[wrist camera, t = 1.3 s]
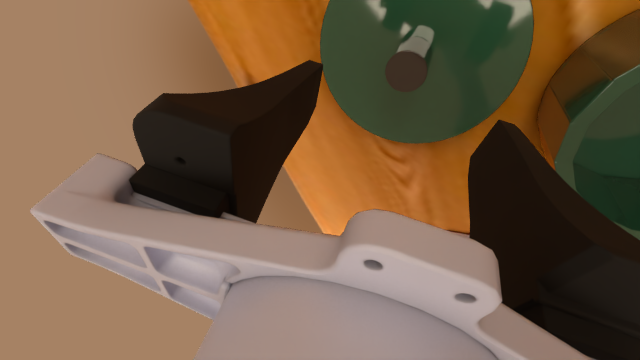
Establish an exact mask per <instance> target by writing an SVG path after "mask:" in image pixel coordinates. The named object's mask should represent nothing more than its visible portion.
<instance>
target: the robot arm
mask: <svg viewBox="0 0 640 360" xmlns="http://www.w3.org/2000/svg"><path fill="white" fill-rule="evenodd" d="M323 65H324V64H321V63H317V62H314V61H311V60H308V61H306V62H304V63H302V64H300V65H298V66H296V67H294V68H292V69H290V70H288V71H286V72H284V73H282V74H279V75H277V76H274V77H272V78H270V79H267V80H265V81H262V82H259V83H256V84H253V85H249V86H245V87H241V88H236V89H231V90H225V91H219V92H209V93H194V94H169V93H163V94H162V95H160V96H159V97H158V98H157V99H155V100H154V101H153V102H152V103H151V104H149V105H148V106H147V107H146V108H144V109H143V110H142V111H141V112H140V113H138V114H137V115H136V117H135V118H134V120H133V131H134V135H135V138H136V141H137V143H138V146H139V149H140V152H141V154H142V157H143V159H144V162H145V164H144V165H143V166H142V167H141V168H140V169H139V170H138V171H137V170H136V168H134V167H133V166H132V165H130V164H128V163H126V162H123V161H120V160H118V159H115V158H112V157H109V156H106V155H103V154H99V153H97V154H96V155H95V156H94V157H92V158H91V159H90V160H89V161H88V162H87V163H85V164H84V165H83V166H82V167H80V168H79V169H78V170H77V171H76V172H74V173H73V174H72V175H71V176H70V177H69V178H67V179H66V180H65V181H64V182H62V183H61V184H60V185H59V186H58V187H57V188H55V189H54V190H53V191H52V192H50V193H49V194H48V195H47V196H46V197H44V198H43V199H42V200H41V201H40V202H38V203H37V204H36V205H35V206H34V207H32V208H31V209H30V212H31V214H32V215H33V216H34V217H35V218H36V219H37V220H38V221H39V222H40V223H41V224H42V225H43V226H44V227H45V228H46V229H47V230H48V231H49V232H50V233H51V235H52V236H53V237H54V238H55V239H56V240H57V241H58V242H59V243H60V244H61V245H62V246H63V247H64V248H65V249H66V250H67V251H68V252H69V253H70V254H71V255H73V256H76V257H79V258H81V259H83V260H86V261H88V262H91V263H93V264H96V265H98V266H100V267H103V268H105V269H107V270H110V271H112V272H114V273H116V274H119V275H121V276H123V277H125V278H127V279H129V280H131V281H134V282H136V283H138V284H140V285H142V286H144V287H146V288H148V289H150V290H152V291H155V292H156V293H158V294H160V295H162V296H164V297H166V298H169V299H171V300H173V301H175V302H177V303H179V304H181V305H183V306H185V307H187V308H189V309H191V310H193V311H195V312H197V313H199V314H201V315H203V316H205V317H208V318H210V319H211V320H213V323H212V325H211V327H210V328H209V330H208V332H207V334H206V336H205V338H204V340H203V342H202V344H201V346H200V348H199V350H198V352H197V354H196V355H195V357H194V359H193V360H640V240H639V239H637V238H636V237H634V236H633V235H631V234H630V233H628V232H627V231H625V230H624V229H622V228H621V227H620V226H618V225H617V224H615V223H614V222H613V221H611V220H610V219H609V218H607V217H606V216H605V215H603V214H602V213H601V212H599V211H598V210H597V209H596V208H594V207H593V206H592V205H591V204H589V203H588V202H587V201H586V200H585V199H584V198H583V197H581V196H580V195H579V194H578V193H577V192H576V191H575V190H574V189H573V188H571V187H570V186H569V185H568V184H567V183H566V182H565V181H564V180H563V179H562V177H561V176H560V175H559V174H558V173H557V172H556V171H555V170H554V169H553V168H552V167H551V166H550V165H549V163H548V162H547V161H546V160H545V159H544V158H543V156H542V155H541V154H540V153H539V152H538V150H537V149H536V148H535V147H534V146H533V144H532V143H531V142H530V141H529V140H528V138H527V137H526V136H525V135H524V134H523V133H522V132H521V130H520V129H519V128H518V127H517V126H515V125H514V124H511V123H508V122H505V121H502V120H498V121H497V123H496V124H495V125H494V126H493V128H492V129H491V130H490V132H489V133H488V134H487V136H486V137H485V138H484V140H483V141H482V142H481V144H480V145H479V146H478V148H477V149H476V150H475V152H474V153H473V154H472V156H471V158H470V164H469V172H468V192H469V211H470V235H467V234H461V233H455V232H450V231H447V230H444V229H441V228H438V227H435V226H432V225H429V224H427V223H424V222H421V221H418V220H415V219H412V218H409V217H406V216H403V215H400V214H397V213H395V212H390V211H384V210H378V209H373V210H368V211H363V212H358V213H356V214H355V215H354V216H353V217H352V218H351V219H350V220H349V221H348V223H347V225H346V228H345V230H344V232H343V233H342V235H341V236H336V235H330V234H323V233H316V232H309V231H302V230H296V229H289V228H282V227H275V226H269V225H261V224H256V222H257V220H258V217H259V215H260V213H261V211H262V208H263V206H264V204H265V201H266V199H267V197H268V194H269V193H270V190H271V188H272V186H273V184H274V182H275V180H276V177H277V175H278V173H279V171H280V169H281V167H282V165H283V163H284V162H285V160H286V158H287V156H288V155H289V153H290V152H291V150H292V149H293V147H294V145H295V144H296V142H297V141H298V139H299V138H300V136H301V134H302V133H303V131H304V130H305V128H306V126H307V125H308V123H309V120H310V118H311V116H312V114H313V111H314V109H315V107H316V102H317V97H318V92H319V86H320V81H321V76H322V71H323Z"/></svg>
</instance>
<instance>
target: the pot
mask: <svg viewBox="0 0 640 360" xmlns="http://www.w3.org/2000/svg"><path fill="white" fill-rule="evenodd" d="M537 118H538V119H537V121H538V129H539V134H540V138H541V144H542V148H543V151H544V154H545V156H546V159H547V162H548V163H549V165H550V166H551V167H552V168H553V169H554V170H555V171H556V172H557V173H558V174H559V175H560V176H561V177H562V179H563V180H564V181H565V182H566V183H567V184H568V185H569V186H570V187H571V188H573V189H574V190H575V191H576V192H577V193H578V194H579V195H580V196H581V197H583V198H584V199H585V200H586V201H587V202H588V203H589V204H591V205H592V206H593V207H594V208H596V209H597V210H598V211H599V212H601V213H602V214H603V215H605V216H606V217H607V218H609V219H610V220H611V221H613V222H614V223H615V224H617V225H618V226H620V227H621V228H622V229H624V230H625V231H627V232H628V233H630V234H631V235H633V236H634V237H636V238H637V239H639V240H640V9H639V10H637V11H635V12H633V13H631V14H629V15H627V16H625V17H623V18H621V19H619V20H617V21H616V22H614V23H612V24H611V25H609V26H607V27H606V28H604V29H602V30H601V31H599V32H598V33H597V34H595V35H594V36H593V37H591V38H590V39H588V40H587V41H586V42H585V43H584V44H582V45H581V46H580V47H579V48H578V49H577V50H576V51H574V52H573V53H572V54H571V55H570V57H569V58H568V59H567V60H566V61H565V62H564V63H563V64H562V65H561V67H560V68H559V69H558V71H557V72H556V73H555V75H554V76H553V77H552V79H551V81H550V83H549V84H548V86H547V88H546V90H545V92H544V95H543V97H542V100H541V103H540V107H539V113H538V117H537Z"/></svg>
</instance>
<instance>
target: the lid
mask: <svg viewBox="0 0 640 360" xmlns="http://www.w3.org/2000/svg"><path fill="white" fill-rule="evenodd" d="M533 28H534V20H533V8H532V3H531V0H330V1H329V3H328V6H327V9H326V12H325V15H324V19H323V24H322V29H321V40H320V53H321V62H322V64H324V65H323V72H324V76H325V79H326V82H327V84H328V87H329V89H330V91H331V93H332V95H333V97H334V99H335V100H336V102H337V103H338V104H339V106H340V107H341V109H342V110H343V111H344V112H345V113H346V114H347V115H348V116H349V117H350V118H351V119H352V120H353V121H354V122H355V123H357V124H358V125H359V126H361V127H362V128H364V129H365V130H367V131H369V132H371V133H373V134H375V135H377V136H380V137H382V138H385V139H388V140H392V141H396V142H403V143H430V142H436V141H441V140H445V139H448V138H451V137H454V136H457V135H459V134H461V133H464V132H466V131H468V130H469V129H471V128H473V127H475V126H476V125H478V124H479V123H481V122H482V121H483V120H485V119H486V118H488V117H489V116H490V115H491V114H492V113H493V112H494V111H495V110H497V109H498V108H499V107H500V105H501V104H502V103H503V102H504V101H505V100H506V99H507V97H508V96H509V95H510V93H511V92H512V90H513V89H514V87H515V86H516V85H517V83H518V81H519V79H520V77H521V75H522V73H523V71H524V69H525V66H526V63H527V60H528V58H529V54H530V50H531V45H532V41H533Z"/></svg>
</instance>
